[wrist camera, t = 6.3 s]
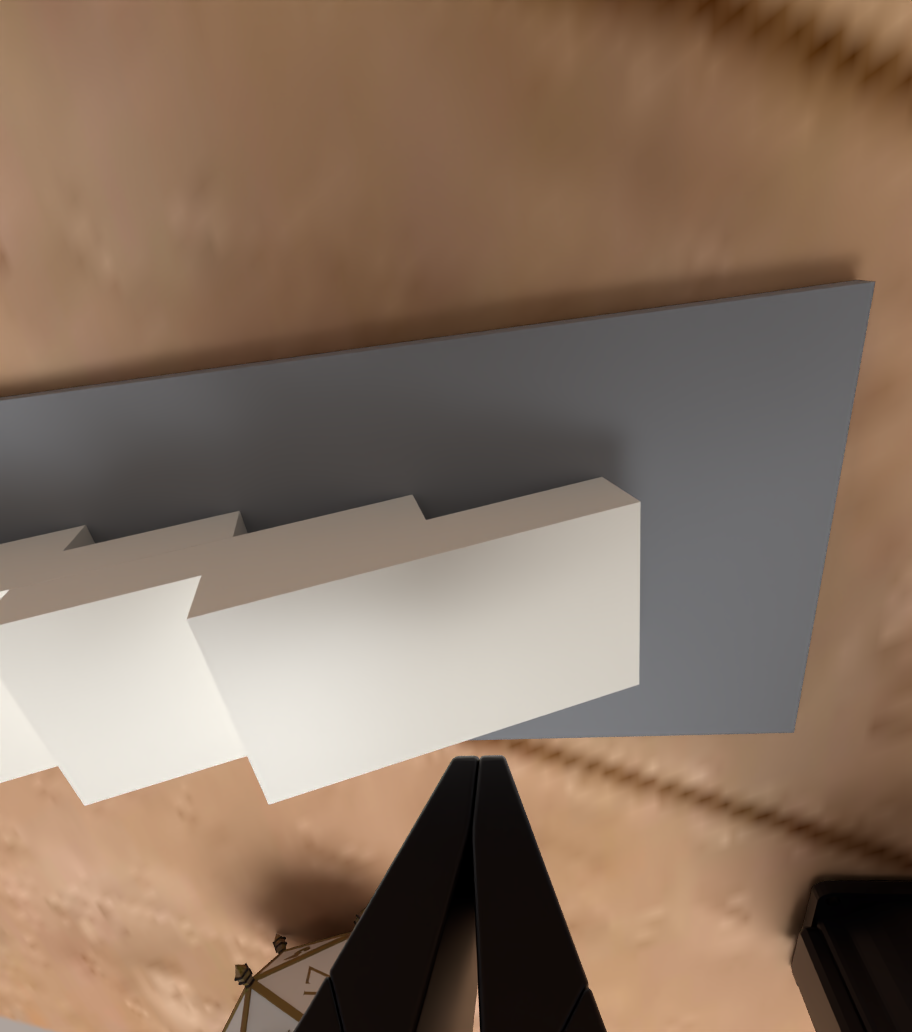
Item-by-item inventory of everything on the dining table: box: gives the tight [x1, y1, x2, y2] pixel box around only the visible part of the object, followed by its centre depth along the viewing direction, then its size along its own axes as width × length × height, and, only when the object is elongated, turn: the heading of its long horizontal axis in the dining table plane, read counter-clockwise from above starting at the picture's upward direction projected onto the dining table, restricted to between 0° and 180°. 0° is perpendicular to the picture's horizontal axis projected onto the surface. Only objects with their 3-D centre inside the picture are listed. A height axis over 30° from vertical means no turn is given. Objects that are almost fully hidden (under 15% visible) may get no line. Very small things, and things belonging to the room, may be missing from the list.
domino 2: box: [0, 495, 426, 806], centre depth 13 cm, size 2×5×9 cm
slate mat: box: [0, 280, 875, 740], centre depth 15 cm, size 26×12×1 cm, turn 98°
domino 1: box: [0, 511, 248, 783], centre depth 13 cm, size 2×5×9 cm
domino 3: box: [187, 477, 641, 805], centre depth 12 cm, size 2×5×9 cm
